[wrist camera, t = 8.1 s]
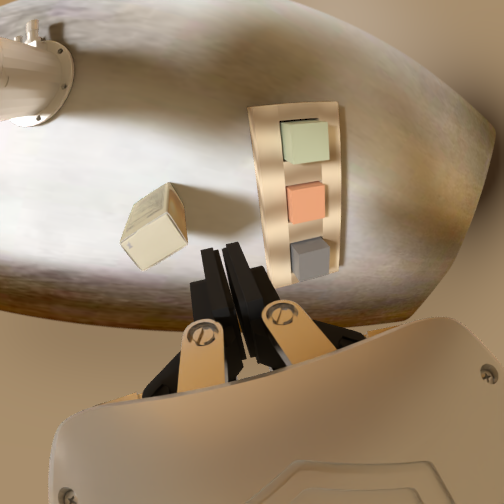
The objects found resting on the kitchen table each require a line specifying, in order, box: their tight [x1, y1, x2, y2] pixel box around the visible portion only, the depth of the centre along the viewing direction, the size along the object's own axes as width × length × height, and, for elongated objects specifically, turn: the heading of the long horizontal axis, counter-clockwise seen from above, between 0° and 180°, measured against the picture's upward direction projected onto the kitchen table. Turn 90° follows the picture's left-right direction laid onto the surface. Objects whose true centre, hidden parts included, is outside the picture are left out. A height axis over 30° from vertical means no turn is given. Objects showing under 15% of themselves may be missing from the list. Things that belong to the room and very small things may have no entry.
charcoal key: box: [290, 236, 330, 282], centre depth 43 cm, size 5×5×4 cm
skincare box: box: [119, 182, 188, 272], centre depth 32 cm, size 6×4×12 cm
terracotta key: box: [285, 181, 325, 225], centre depth 39 cm, size 5×5×4 cm
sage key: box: [280, 120, 330, 164], centre depth 33 cm, size 5×5×4 cm
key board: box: [247, 101, 341, 289], centre depth 40 cm, size 28×12×3 cm, turn 7°
